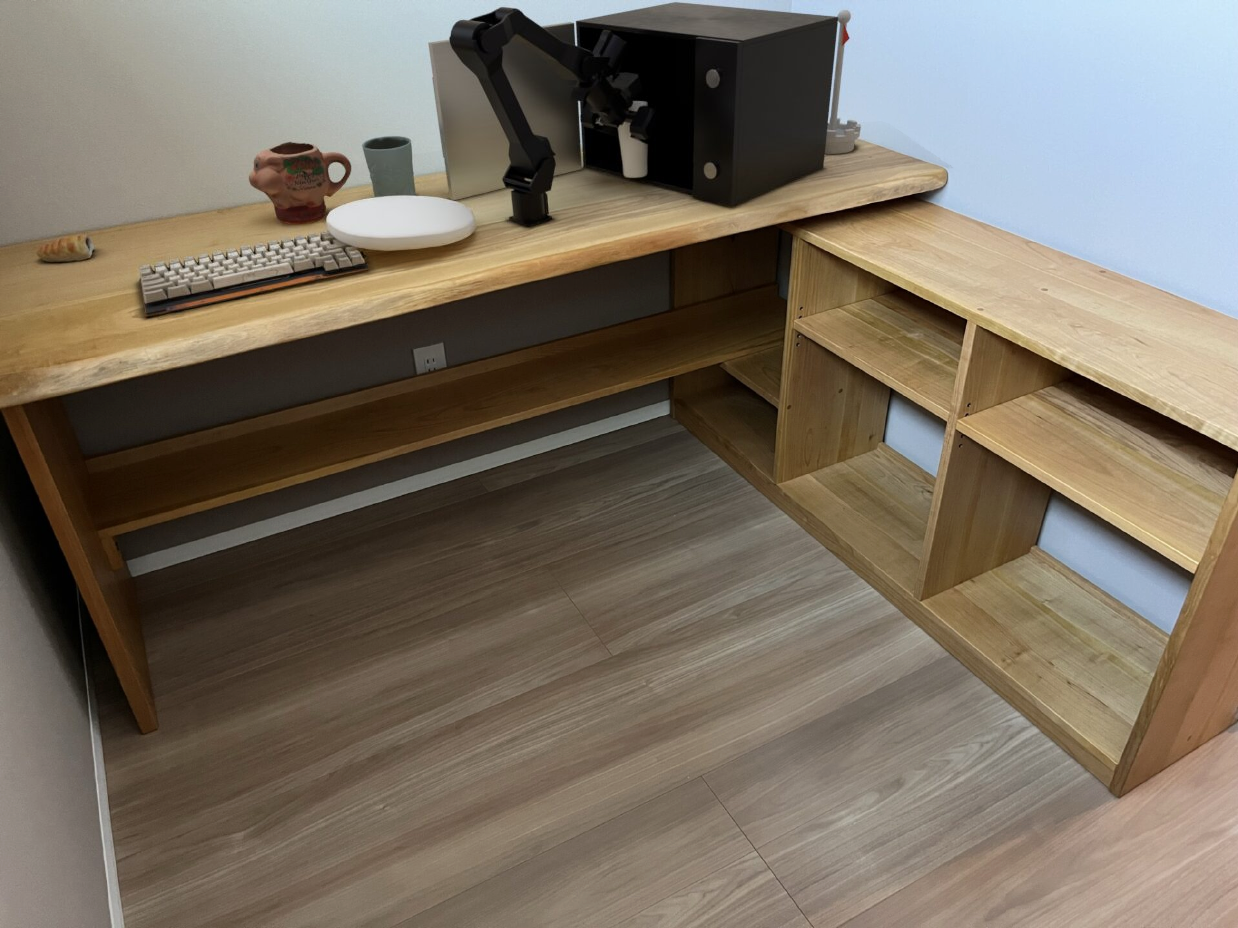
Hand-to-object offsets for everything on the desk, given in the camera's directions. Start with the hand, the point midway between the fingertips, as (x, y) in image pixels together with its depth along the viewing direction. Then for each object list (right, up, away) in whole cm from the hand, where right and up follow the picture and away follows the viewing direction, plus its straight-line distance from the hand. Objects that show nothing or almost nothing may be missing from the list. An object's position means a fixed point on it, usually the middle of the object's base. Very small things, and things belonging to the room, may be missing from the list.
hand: (638, 140), depth 193 cm
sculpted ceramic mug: (-68, -19, -8) cm, 71 cm away
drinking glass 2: (0, -7, +2) cm, 8 cm away
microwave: (+14, -3, +11) cm, 18 cm away
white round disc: (-45, -27, -22) cm, 57 cm away
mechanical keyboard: (-69, -37, -34) cm, 85 cm away
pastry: (-108, -31, -24) cm, 115 cm away
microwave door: (-28, -6, +7) cm, 30 cm away
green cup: (-52, -13, -1) cm, 54 cm away
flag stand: (+47, +6, +23) cm, 53 cm away
